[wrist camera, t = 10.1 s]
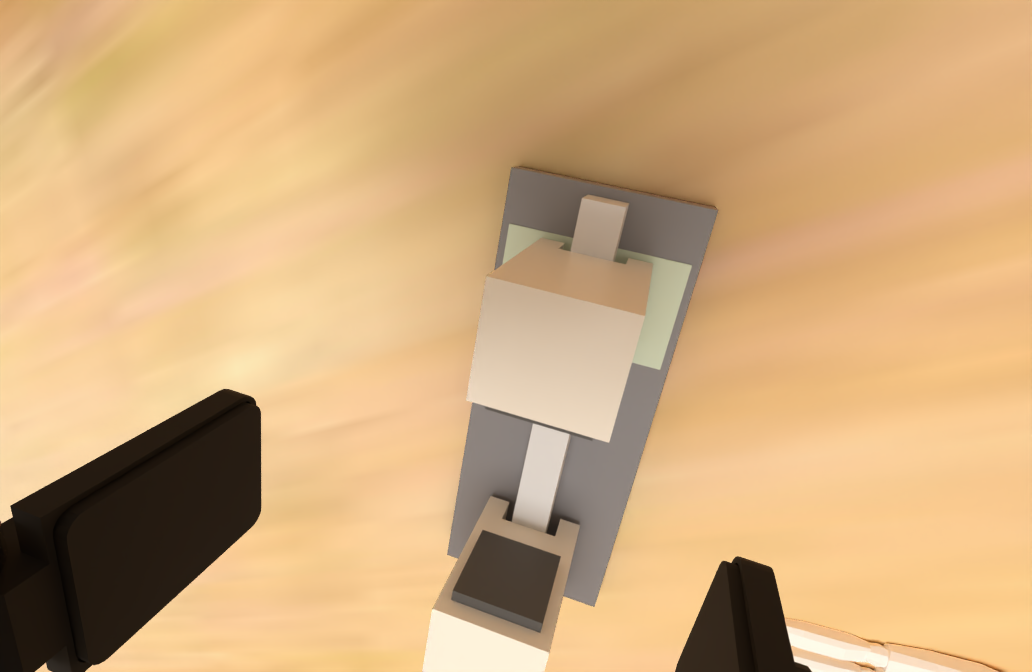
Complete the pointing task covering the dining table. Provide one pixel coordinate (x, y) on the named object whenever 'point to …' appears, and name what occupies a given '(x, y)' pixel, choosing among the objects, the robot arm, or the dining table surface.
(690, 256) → the rail board
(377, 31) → the dining table surface
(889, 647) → the articulated figure
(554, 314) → the cream rectangular block
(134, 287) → the dining table surface
